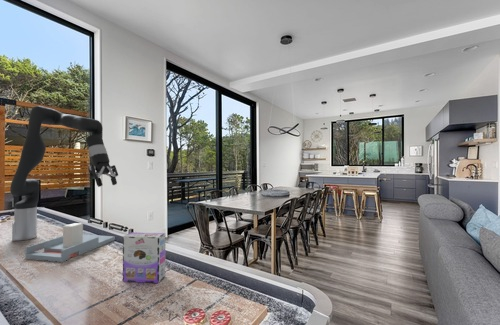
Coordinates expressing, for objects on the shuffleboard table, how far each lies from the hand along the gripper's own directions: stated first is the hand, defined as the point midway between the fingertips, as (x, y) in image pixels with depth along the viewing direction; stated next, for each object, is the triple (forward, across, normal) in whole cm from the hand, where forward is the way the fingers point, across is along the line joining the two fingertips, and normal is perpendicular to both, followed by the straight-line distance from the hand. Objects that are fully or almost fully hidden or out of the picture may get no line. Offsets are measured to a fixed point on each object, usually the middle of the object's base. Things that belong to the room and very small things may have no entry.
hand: (107, 185), depth 117 cm
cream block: (+22, +5, -25) cm, 34 cm away
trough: (+24, +4, -26) cm, 35 cm away
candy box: (+44, +21, +25) cm, 55 cm away
